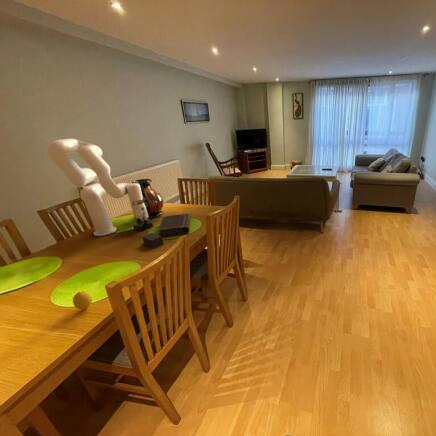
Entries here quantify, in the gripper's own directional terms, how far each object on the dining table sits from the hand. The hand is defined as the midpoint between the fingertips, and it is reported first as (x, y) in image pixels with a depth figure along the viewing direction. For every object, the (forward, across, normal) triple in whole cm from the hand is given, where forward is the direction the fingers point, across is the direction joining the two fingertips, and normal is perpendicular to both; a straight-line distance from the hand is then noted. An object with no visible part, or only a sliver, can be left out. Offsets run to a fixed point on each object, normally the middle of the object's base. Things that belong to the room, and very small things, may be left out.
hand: (143, 226), depth 164 cm
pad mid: (-2, -29, +10) cm, 30 cm away
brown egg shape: (+1, -58, +54) cm, 79 cm away
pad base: (+1, -28, +10) cm, 30 cm away
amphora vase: (+1, +18, -16) cm, 24 cm away
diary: (+1, -19, -12) cm, 22 cm away
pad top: (+1, 0, 0) cm, 1 cm away
